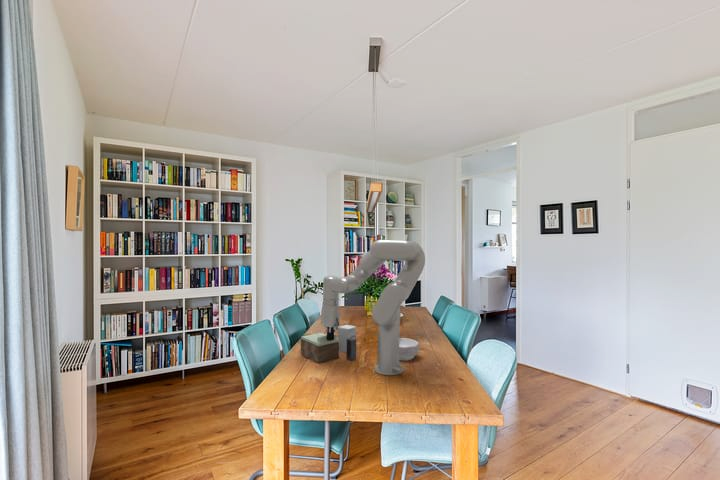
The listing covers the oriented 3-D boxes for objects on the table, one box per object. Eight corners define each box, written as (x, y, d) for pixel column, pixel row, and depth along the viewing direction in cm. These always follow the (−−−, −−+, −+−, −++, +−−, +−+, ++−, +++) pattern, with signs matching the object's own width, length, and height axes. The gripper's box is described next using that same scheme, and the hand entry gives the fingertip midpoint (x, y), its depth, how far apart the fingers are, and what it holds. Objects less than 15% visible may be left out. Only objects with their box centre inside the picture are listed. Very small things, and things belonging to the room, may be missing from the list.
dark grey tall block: (356, 359, 171) (356, 339, 171) (350, 361, 169) (351, 340, 169) (351, 357, 174) (351, 337, 174) (346, 359, 172) (346, 339, 172)
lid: (338, 341, 173) (339, 334, 173) (318, 346, 165) (318, 338, 165) (321, 334, 185) (321, 327, 185) (301, 338, 178) (301, 331, 178)
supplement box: (347, 353, 181) (347, 329, 181) (337, 350, 185) (337, 326, 185) (356, 349, 187) (356, 326, 187) (345, 347, 191) (346, 324, 191)
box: (338, 358, 173) (338, 342, 173) (318, 363, 165) (318, 346, 165) (315, 347, 190) (315, 333, 190) (295, 352, 182) (295, 336, 182)
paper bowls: (415, 364, 165) (415, 347, 165) (384, 360, 170) (384, 344, 170) (420, 354, 179) (420, 339, 179) (392, 351, 184) (392, 336, 184)
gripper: (315, 300, 171) (315, 338, 171) (333, 305, 160) (333, 345, 160) (328, 299, 176) (328, 335, 176) (346, 303, 165) (346, 342, 165)
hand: (330, 340), depth 168 cm, fingers closed
